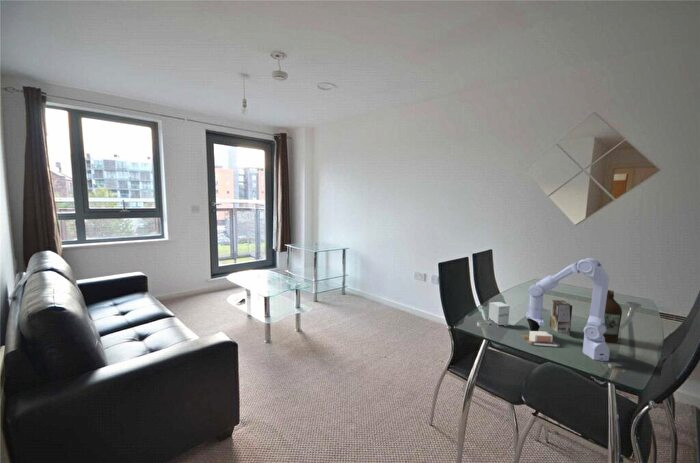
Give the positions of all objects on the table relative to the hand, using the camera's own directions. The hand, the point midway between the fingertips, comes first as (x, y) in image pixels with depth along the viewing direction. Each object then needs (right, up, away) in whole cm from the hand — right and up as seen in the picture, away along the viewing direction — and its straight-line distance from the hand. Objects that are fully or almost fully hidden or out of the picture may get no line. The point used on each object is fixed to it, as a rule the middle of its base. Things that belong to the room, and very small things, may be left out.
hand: (533, 334), depth 154 cm
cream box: (-2, -1, -8) cm, 8 cm away
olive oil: (+37, -3, +1) cm, 37 cm away
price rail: (-2, -2, -11) cm, 12 cm away
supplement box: (-11, -1, +15) cm, 19 cm away
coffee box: (+19, -2, +8) cm, 21 cm away
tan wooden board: (-1, -3, -6) cm, 6 cm away
